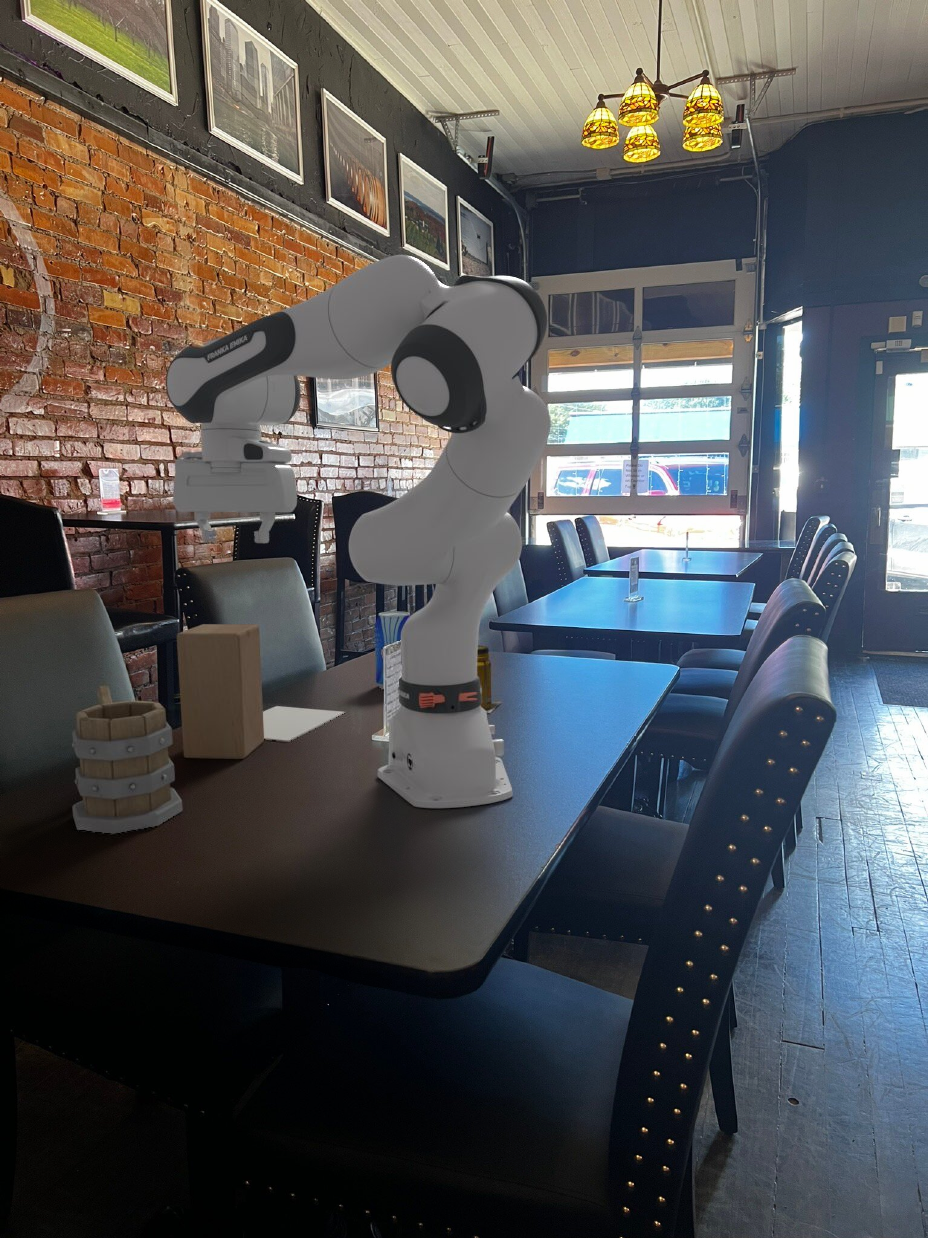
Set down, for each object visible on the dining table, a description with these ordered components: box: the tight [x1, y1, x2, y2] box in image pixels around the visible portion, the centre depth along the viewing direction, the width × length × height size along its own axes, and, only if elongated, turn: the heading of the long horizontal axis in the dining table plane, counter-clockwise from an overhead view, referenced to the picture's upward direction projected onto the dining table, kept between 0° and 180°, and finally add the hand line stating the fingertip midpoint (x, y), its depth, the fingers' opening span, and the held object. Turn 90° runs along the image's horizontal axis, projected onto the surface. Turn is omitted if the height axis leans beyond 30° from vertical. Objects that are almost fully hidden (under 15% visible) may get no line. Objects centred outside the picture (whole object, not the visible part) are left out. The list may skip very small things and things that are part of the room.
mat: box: [263, 705, 346, 743], centre depth 154 cm, size 20×15×1 cm
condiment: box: [477, 645, 502, 714], centre depth 164 cm, size 7×8×12 cm
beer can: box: [374, 610, 411, 691], centre depth 182 cm, size 8×8×16 cm
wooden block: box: [176, 623, 265, 760], centre depth 137 cm, size 10×10×20 cm
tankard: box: [71, 685, 184, 835], centre depth 113 cm, size 20×13×15 cm, turn 30°
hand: (235, 542), depth 131 cm, fingers open, 8 cm apart
